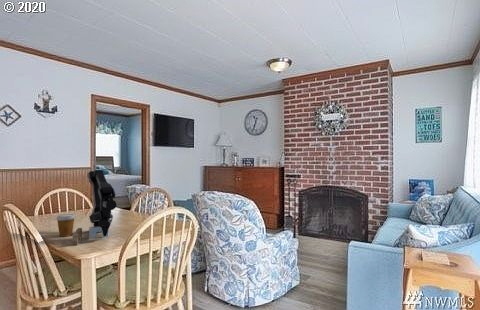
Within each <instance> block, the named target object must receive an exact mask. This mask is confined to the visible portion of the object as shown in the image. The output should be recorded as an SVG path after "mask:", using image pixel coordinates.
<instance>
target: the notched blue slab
mask: <svg viewBox="0 0 480 310" xmlns="http://www.w3.org/2000/svg"><path fill="white" fill-rule="evenodd" d="M88 229H89V230H88V239H96V238H97V233H96V232H98V233H101V238H102V239H103V238H109V234H110V233H109V229H110V228H109V229H108V232H107V234H106V236H104V235H103V231H102V228H101V227H93V226H90V227H89V228H88Z"/></svg>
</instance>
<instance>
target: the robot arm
mask: <svg viewBox="0 0 480 310" xmlns="http://www.w3.org/2000/svg"><path fill="white" fill-rule="evenodd" d="M86 177H87V179H88V183H90V185H91V189H92V195H93V196H92V197H93V209H92V211H91V214H90V215H89V222H90V223H92V224H93V226H92V227H101V228H102V231H103V235H104V236H106V234H107V232H108V229H110V227H111V224H112V222H113V218H114V215H113V214H112V211H113V210H115V209H116V208H117V202H116V201H115V200H114V199H115V198H116V192H115V189H114V187H113V186H112V184H111V183H108V181H107V179H106V176H105V173H104V170H103V169H95V170H89V172H87V175H86ZM98 233H99V232H96V234H98Z"/></svg>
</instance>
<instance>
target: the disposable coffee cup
mask: <svg viewBox="0 0 480 310" xmlns="http://www.w3.org/2000/svg"><path fill="white" fill-rule="evenodd" d="M55 219H56V220H57V228H58V233H59V237H61V238H66V237H67V238H68V237H70V236H73V232H74V231H73V230H74V222H75V219H76V215H75V214H74V213H64V214H59V215H57V216H56V218H55Z"/></svg>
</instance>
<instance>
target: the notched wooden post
mask: <svg viewBox="0 0 480 310" xmlns="http://www.w3.org/2000/svg"><path fill="white" fill-rule="evenodd" d="M73 232H74V233H72V247H75V246H78V245H79V244H80V242H81V240H82V239H83V228H82V227H77V228H76V231H73Z"/></svg>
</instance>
